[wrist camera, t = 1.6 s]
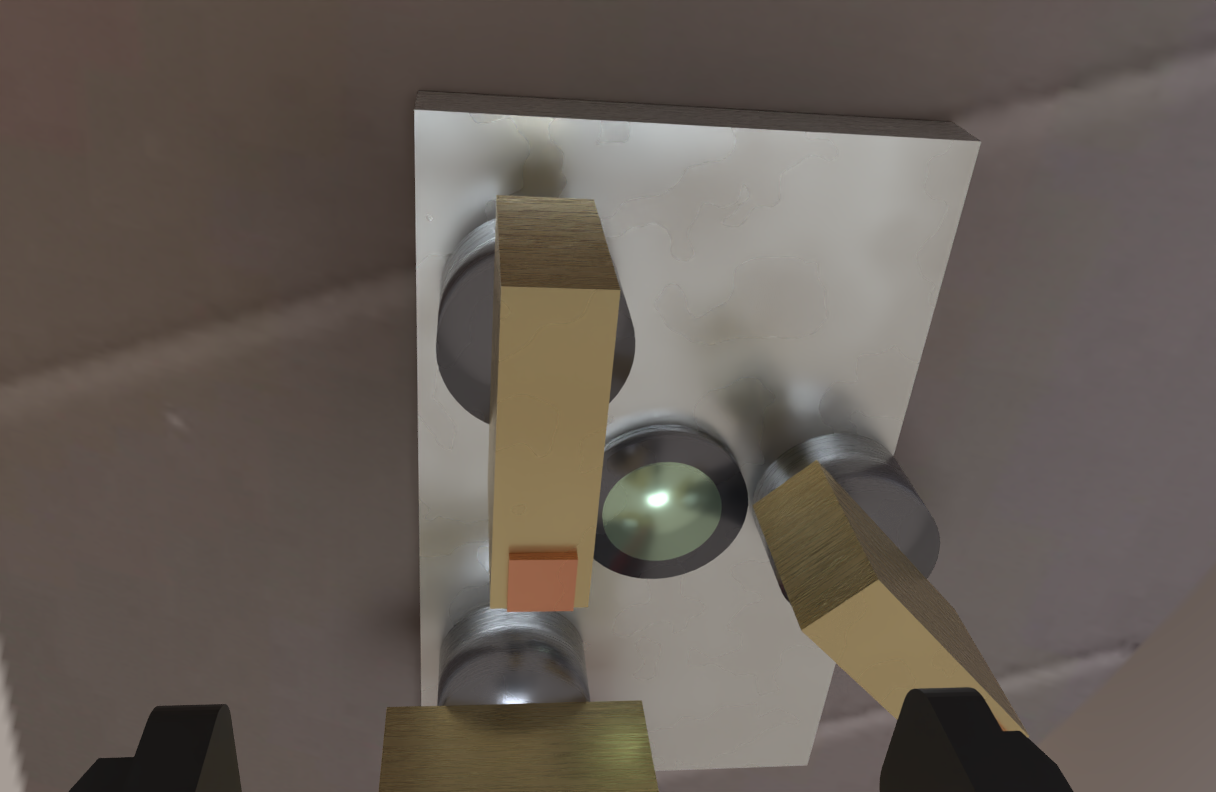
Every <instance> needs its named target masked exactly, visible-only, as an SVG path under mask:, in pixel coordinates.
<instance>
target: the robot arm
mask: <svg viewBox="0 0 1216 792" xmlns="http://www.w3.org/2000/svg"><path fill="white" fill-rule="evenodd" d="M69 792H242V791H241V783H240V776H239V769H238V762H237V755H236V748H235V742H234V735H233V728H232V721H231V714H230V710H229V707H228V706H227V705H226V704H214V705H176V706H157V707H155V708H154V709H153V711H152V712H151V714H150V716H149V718H148V721H147V723H146V726H145V729H144V731H143V734H142V737H141V740H140V743H139V745H138V748H137V751H136V754H135V756H134V757H124V758H99V759H98V760H97V761H96V762H95V763H94V764H93V765H92V766H91V767H90V768H89V770H88V771H87V772H86V773H85V774H84V775H83V776H82V777H81V778H80V779H79V781H78V782H77V783H76V784H75V785H74V786H73V787H72V788H71V789H70V790H69ZM880 792H1073V790H1072V789H1071V787H1070V785H1069V784H1068V782H1067V780H1066V779H1065V777H1064V776H1063V774H1062V773H1061V771H1060V769H1059V767H1058V766H1057V764H1056V763H1054V762H1053V761H1052V760H1051V759H1050V758H1049V757H1048V756H1047V755H1045V753H1044V752H1043V751H1041V750H1040V749H1039V748H1038V747H1037V746H1036V745H1035V744H1034V743H1033V742H1032V741H1031V740H1030V739H1028V738H1027V737H1026V736H1025V735H1024V734H1023V733H1022V732H1021V731H1003V730H1002V729H1001V727H1000V725H999V723H998V722H997V720H996V718H995V716H994V715H993V713H992V711H991V709H990V708H989V706H988V704H987V703H986V701H985V699H984V698H983V696H982V695H981V694H980V693H979V692H978V691H977V690H976V689H974V688H971V687H956V688H918V689H912V690H910V691H909V692H908V693H907V695H906V697H905V699H904V702H903V705H902V708H901V711H900V714H899V717H898V720H897V723H896V727H895V730H894V733H893V736H892V739H891V742H890V745H889V748H888V751H887V754H886V757H885V760H884V764H883V767H882V770H881V775H880Z"/></svg>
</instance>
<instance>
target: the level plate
mask: <svg viewBox="0 0 1216 792" xmlns="http://www.w3.org/2000/svg"><path fill="white" fill-rule="evenodd" d="M414 128H415V212H416V297H417V381H418V466H419V550H420V635H421V706H437V700H438V676H439V656H440V649H441V646H442V643H443V641H444V639H445V637H446V635H447V634H448V632H449V631H450V630H451V629H452V628H453V627H454V626H455V625H456V624H457V623H458V622H459V621H460V620H462V619H463V618H465V617H466V616H468V615H469V614H471V613H473V612H475V611H477V610H480V609H483V608H485V607H489V606H490V587H489V530H488V452H489V424H487V423H485V422H483V421H481V420H479V419H478V418H476V417H474V416H473V415H472V414H470V413H469V412H468V411H466V410H465V409H464V408H463V407H462V406H461V405H460V404H459V403H458V402H457V401H456V400H455V399H454V397H453V396H452V395H451V393H450V392H449V390H448V389H447V387H446V385H445V383H444V382H443V379H442V377H441V374H440V371H439V368H438V363H437V358H436V338H437V324H438V310H439V296H440V283H441V279H442V274H443V271H444V268H445V266H446V263H447V261H448V259H449V257H450V255H451V254H452V252H453V251H454V249H455V248H456V247H457V245H458V244H459V243H460V242H461V241H462V240H463V239H464V238H465V237H466V236H467V235H468V234H469V233H470V232H472V231H473V230H474V229H476V228H477V227H478V226H480V225H482V224H484V223H485V222H487V221H489V220H492V219H494V218H496V195H507V196H529V197H551V198H574V199H594V201H595V205H596V208H597V212H598V215H599V219H600V222H601V225H602V229H603V232H604V236H605V239H606V242H607V246H608V249H609V253H610V255H611V257H612V259H613V261H614V264H615V266H616V269H617V272H618V275H619V279H620V282H621V286H622V289H623V292H624V296H625V299H626V302H627V306H628V309H629V312H630V316H631V319H632V323H633V327H634V332H635V355H634V361H633V365H632V368H631V371H630V374H629V376H628V378H627V380H626V382H625V384H624V386H623V387H622V389H621V390H620V392H619V393H618V394H617V396H616V397H615V398H614V399H613V400H612V401H611V402H610V403H609V409H608V419H607V428H606V438H605V448H604V458H603V468H602V478H601V487H600V497H599V507H598V517H597V527H596V537H595V547H594V556H593V566H592V576H591V586H590V596H589V606H588V607H581V608H574V610H573V611H556V612H558V613H560V614H561V615H563V616H564V617H565V618H567V619H568V620H569V621H570V622H571V623H572V624H573V625H574V626H575V628H576V629H577V630H578V632H579V634H580V636H581V639H582V641H583V647H584V654H585V662H586V670H587V678H588V686H589V694H590V701H591V702H599V701H635V700H642V704H643V710H644V715H645V721H646V726H647V732H648V737H649V742H650V748H651V753H652V759H653V764H654V770H655V771H668V770H694V769H721V768H748V767H774V766H801V765H807V764H808V761H809V757H810V753H811V750H812V746H813V743H814V739H815V736H816V732H817V728H818V725H819V721H820V718H821V714H822V710H823V707H824V703H825V700H826V696H827V693H828V689H829V685H830V682H831V678H832V675H833V671H834V667H835V664H836V662H834V661H833V660H832V659H831V658H830V657H829V656H828V655H827V654H826V653H825V652H824V651H823V650H822V649H820V648H819V647H818V646H817V645H816V644H815V643H814V642H813V641H812V640H811V639H810V638H809V637H808V636H806V635H805V634H804V633H803V632H802V631H801V629H800V626H799V624H798V621H797V619H796V616H795V613H794V611H793V608H792V606H791V604H790V603H789V602H788V601H787V600H786V599H785V597H784V595H783V594H782V592H781V589H780V587H779V584H778V582H777V579H776V577H775V574H774V571H773V569H772V566H771V564H770V561H769V558H768V556H767V553H766V551H765V548H764V545H763V543H762V540H761V538H760V535H759V532H758V530H757V527H756V525H755V522H754V518H753V513H752V503H753V496H754V492H755V489H756V487H757V484H758V482H759V480H760V478H761V477H762V475H763V474H764V472H765V471H766V470H767V468H768V467H769V466H770V465H771V464H772V463H773V462H774V461H775V460H776V459H777V458H778V457H779V456H780V455H782V454H783V453H784V452H786V451H787V450H789V449H790V448H792V447H793V446H795V445H797V444H799V443H801V442H804V441H806V440H809V439H811V438H815V437H818V436H822V435H828V434H838V433H846V434H856V435H861V436H864V437H867V438H870V439H872V440H874V441H876V442H878V443H880V444H881V445H883V446H884V447H885V448H886V449H887V450H888V451H889V452H890V453H891V454H892V455H893V456H894V452H895V449H896V445H897V442H898V438H899V434H900V431H901V427H902V424H903V420H904V417H905V413H906V409H907V406H908V402H909V399H910V395H911V391H912V388H913V384H914V381H915V377H916V373H917V370H918V366H919V363H920V359H921V356H922V352H923V348H924V345H925V341H926V338H927V334H928V330H929V327H930V323H931V320H932V316H933V313H934V309H935V305H936V302H937V298H938V295H939V291H940V287H941V284H942V280H943V277H944V273H945V270H946V266H947V262H948V259H949V255H950V252H951V248H952V244H953V241H954V237H955V234H956V230H957V227H958V223H959V219H960V216H961V212H962V209H963V205H964V201H965V198H966V194H967V191H968V187H969V183H970V180H971V176H972V173H973V169H974V166H975V162H976V158H977V155H978V151H979V148H980V144H981V141H980V140H978V139H977V138H975V137H974V136H972V135H971V134H969V133H968V132H966V131H965V130H964V129H962V128H961V127H959V126H958V125H956V124H955V123H953V122H941V121H924V120H907V119H890V118H873V117H856V116H839V115H822V114H805V113H788V112H771V111H754V110H737V109H720V108H703V107H686V106H669V105H652V104H635V103H618V102H601V101H584V100H567V99H550V98H533V97H516V96H499V95H482V94H465V93H448V92H430V91H418V93H417V98H416V104H415V109H414Z"/></svg>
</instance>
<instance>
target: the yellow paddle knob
mask: <svg viewBox="0 0 1216 792" xmlns="http://www.w3.org/2000/svg"><path fill="white" fill-rule="evenodd" d="M752 513H753V518H754V522H755V525H756V527H757V530H758V532H759V535H760V538H761V540H762V543H763V545H764V548H765V551H766V553H767V556H768V558H769V561H770V564H771V566H772V569H773V571H774V574H775V577H776V579H777V582H778V584H779V587H780V589H781V592H782V594H783V595H784V597H785V599H786V600H787V601H788V602H789V603H790V604H791V606H792V608H793V611H794V613H795V616H796V619H797V621H798V624H799V626H800V629H801V631H802V632H803V633H804V634H805V635H806V636H808V637H809V638H810V639H811V640H812V641H813V642H814V643H815V644H816V645H817V646H818V647H819V648H820V649H822V650H823V651H824V652H825V653H826V654H827V655H828V656H829V657H830V658H831V659H832V660H833V661H834V662H836V663H837V664H838V665H839V666H840V667H841V668H842V669H843V670H844V671H845V672H846V673H847V674H848V675H850V676H851V677H852V678H853V679H854V680H855V681H856V682H857V683H858V684H859V685H860V686H861V687H862V688H864V689H865V690H866V691H867V692H868V693H869V694H870V695H871V696H872V697H873V698H874V699H875V700H876V701H878V702H879V703H880V704H881V705H882V706H883V707H884V708H885V709H886V710H887V711H888V712H889V713H890V714H892V715H893V716H894V717H895V718H896V719H897V720H898V717H899V714H900V711H901V708H902V705H903V702H904V699H905V697H906V695H907V693H908V692H909V691H910V690H912V689H918V688H956V687H971V688H974V689H976V690H977V691H978V692H979V693H980V694H981V695H982V696H983V698H984V699H985V701H986V703H987V704H988V706H989V708H990V709H991V711H992V713H993V715H994V716H995V718H996V720H997V722H998V723H999V725H1000V727H1001V729H1002V730H1003V731H1021V732H1022V733H1023V734H1024V735H1025V736H1026V737H1027V738H1028V737H1029V735H1028V733H1027V731H1026V730H1025V728H1024V726H1023V725H1022V723H1021V721H1020V719H1019V718H1018V716H1017V714H1016V713H1015V711H1014V709H1013V708H1012V706H1011V704H1010V702H1009V701H1008V699H1007V697H1006V696H1005V694H1004V692H1003V691H1002V689H1001V687H1000V686H999V684H998V682H997V680H996V679H995V677H994V675H993V674H992V672H991V670H990V669H989V667H988V665H987V663H986V662H985V660H984V658H983V657H982V655H981V653H980V652H979V650H978V648H977V646H976V645H975V643H974V641H973V640H972V638H971V636H970V635H969V633H968V631H967V630H966V628H965V626H964V624H963V623H962V621H961V619H960V618H959V616H958V614H957V613H956V611H955V609H954V608H953V607H952V606H951V605H950V604H949V603H948V602H947V600H946V599H945V598H944V597H943V596H942V595H941V594H940V593H939V592H938V591H937V590H936V589H935V587H934V586H933V585H932V584H931V583H930V582H929V581H928V580H927V578H928V577H929V575H930V574H931V572H932V570H933V568H934V566H935V564H936V561H937V558H938V554H939V548H940V537H939V532H938V528H937V525H936V523H935V521H934V519H933V518H932V516H931V514H930V513H929V511H928V510H927V508H926V506H925V505H924V503H923V502H922V500H921V499H920V497H919V495H918V494H917V492H916V491H915V489H914V488H913V486H912V484H911V483H910V481H909V480H908V478H907V477H906V475H905V473H904V472H903V470H902V469H901V467H900V465H899V464H898V462H897V461H896V459H895V458H894V456H893V455H892V454H891V453H890V452H889V451H888V450H887V449H886V448H885V447H884V446H883V445H881V444H880V443H878V442H876V441H874V440H872V439H870V438H867V437H864V436H861V435H856V434H846V433H838V434H828V435H822V436H818V437H815V438H811V439H809V440H806V441H804V442H801V443H799V444H797V445H795V446H793V447H792V448H790V449H789V450H787V451H786V452H784V453H783V454H782V455H780V456H779V457H778V458H777V459H776V460H775V461H774V462H773V463H772V464H771V465H770V466H769V467H768V468H767V470H766V471H765V472H764V474H763V475H762V477H761V478H760V480H759V482H758V484H757V487H756V489H755V492H754V496H753V503H752Z"/></svg>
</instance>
